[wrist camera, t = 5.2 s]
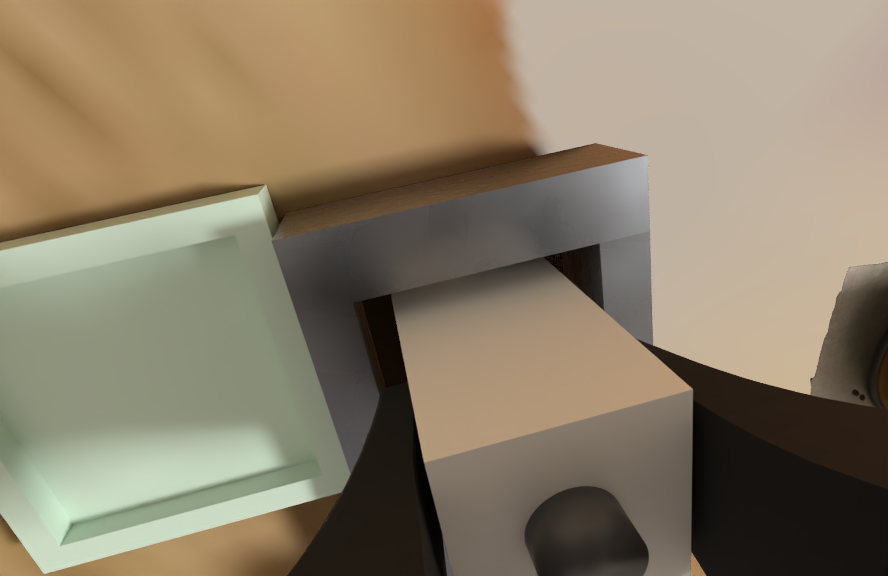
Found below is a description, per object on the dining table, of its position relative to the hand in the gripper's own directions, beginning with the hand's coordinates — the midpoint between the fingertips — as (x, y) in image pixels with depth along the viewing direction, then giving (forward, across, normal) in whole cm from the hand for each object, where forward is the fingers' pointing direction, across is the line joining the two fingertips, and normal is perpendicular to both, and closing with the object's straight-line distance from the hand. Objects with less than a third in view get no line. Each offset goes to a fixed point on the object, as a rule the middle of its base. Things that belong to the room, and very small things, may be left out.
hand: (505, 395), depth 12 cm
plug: (+2, 0, 0) cm, 3 cm away
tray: (+3, +8, -1) cm, 9 cm away
